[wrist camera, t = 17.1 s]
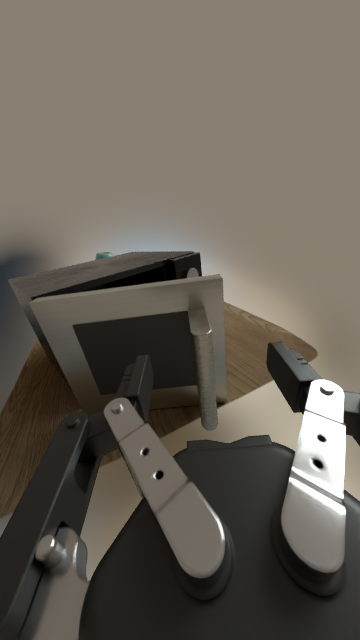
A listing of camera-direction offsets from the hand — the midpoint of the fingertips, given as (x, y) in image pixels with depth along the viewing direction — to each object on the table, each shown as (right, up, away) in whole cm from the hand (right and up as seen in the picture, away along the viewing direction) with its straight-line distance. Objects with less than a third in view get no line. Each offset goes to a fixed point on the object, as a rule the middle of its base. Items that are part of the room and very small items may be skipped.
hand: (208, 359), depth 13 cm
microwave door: (-5, -11, +13) cm, 18 cm away
